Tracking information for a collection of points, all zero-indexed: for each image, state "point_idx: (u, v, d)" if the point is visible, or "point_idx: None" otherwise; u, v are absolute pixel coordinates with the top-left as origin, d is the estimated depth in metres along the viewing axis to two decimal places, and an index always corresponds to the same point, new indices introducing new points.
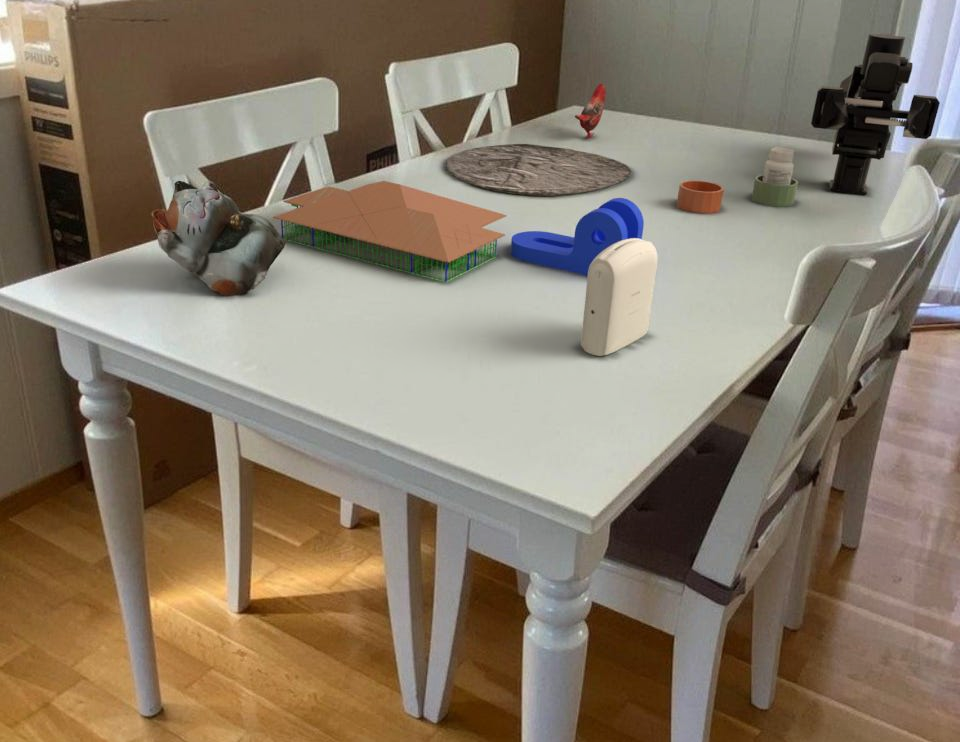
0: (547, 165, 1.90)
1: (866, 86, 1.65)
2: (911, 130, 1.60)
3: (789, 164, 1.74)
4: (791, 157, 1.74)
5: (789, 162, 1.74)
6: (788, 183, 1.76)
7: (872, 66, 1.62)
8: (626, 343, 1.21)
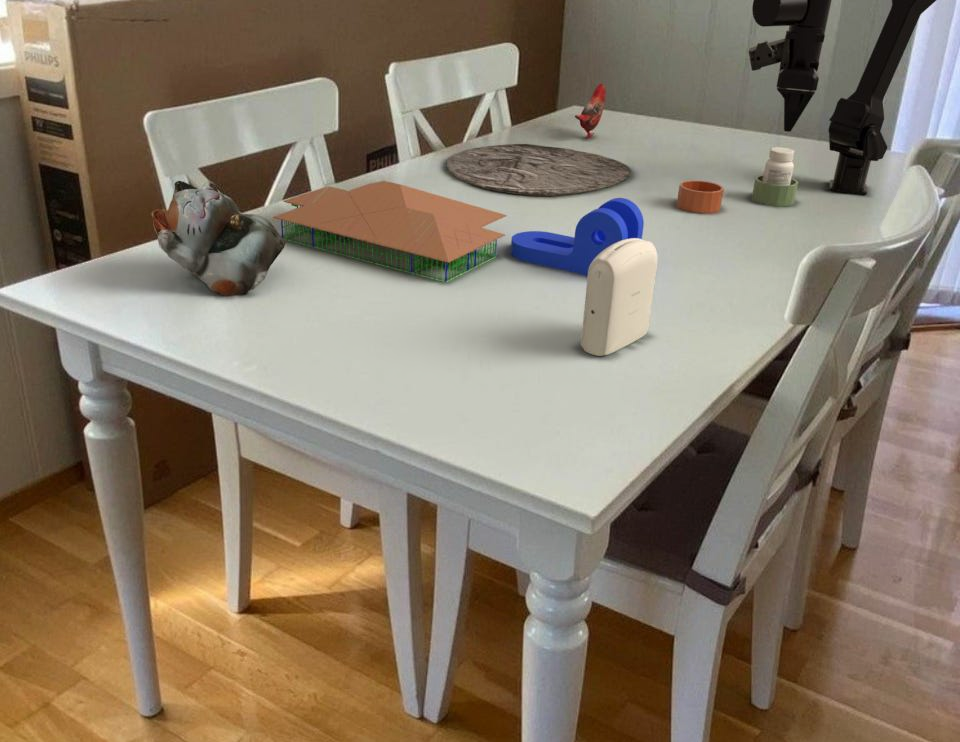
0: (547, 165, 1.90)
1: None
2: (798, 112, 1.66)
3: (789, 164, 1.74)
4: (791, 157, 1.74)
5: (789, 162, 1.74)
6: (788, 183, 1.76)
7: None
8: (626, 343, 1.21)
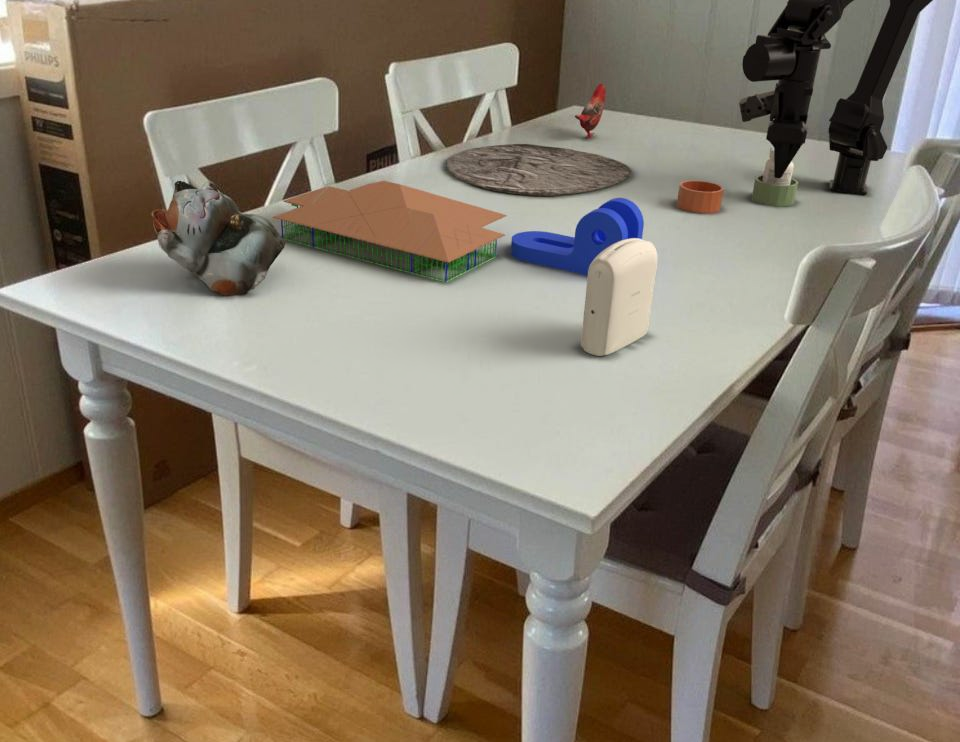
0: (547, 165, 1.90)
1: None
2: (788, 160, 1.72)
3: (789, 164, 1.74)
4: None
5: None
6: (788, 183, 1.76)
7: None
8: (626, 343, 1.21)
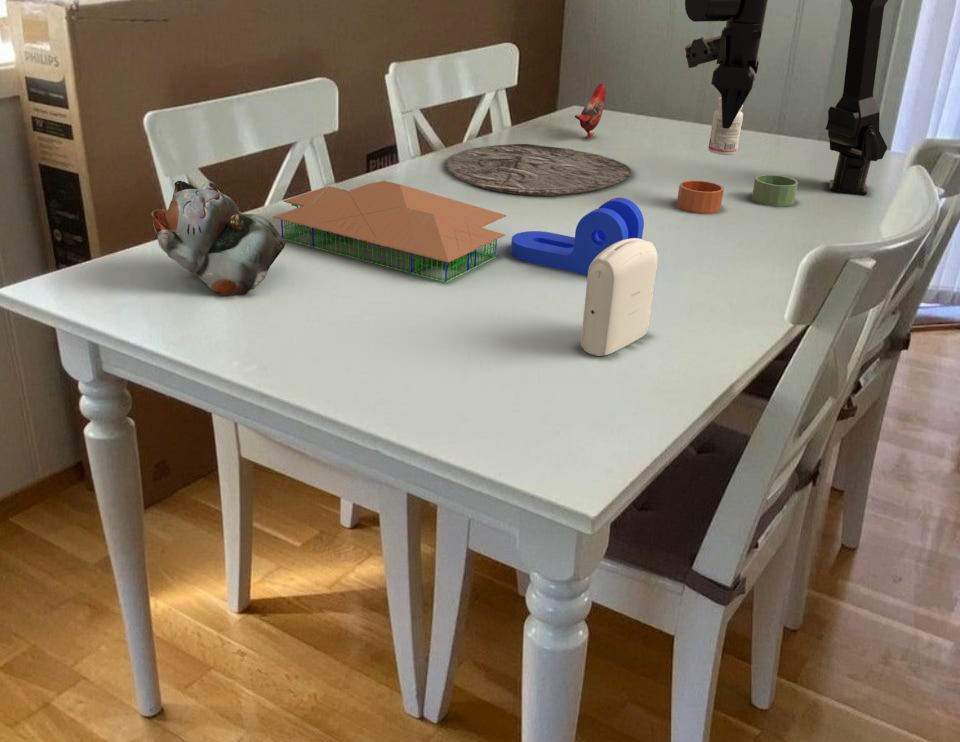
0: (547, 165, 1.90)
1: None
2: (736, 109, 1.62)
3: (738, 113, 1.65)
4: None
5: None
6: (737, 134, 1.67)
7: None
8: (626, 343, 1.21)
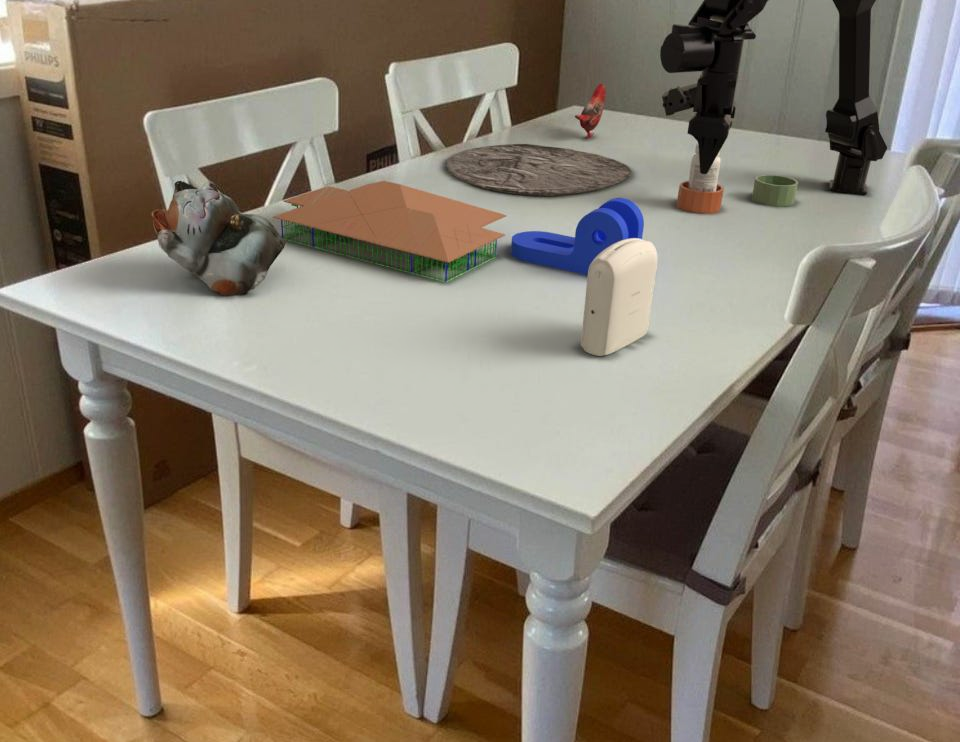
0: (547, 165, 1.90)
1: None
2: (713, 156, 1.65)
3: (715, 159, 1.68)
4: None
5: None
6: (715, 178, 1.69)
7: None
8: (627, 343, 1.21)
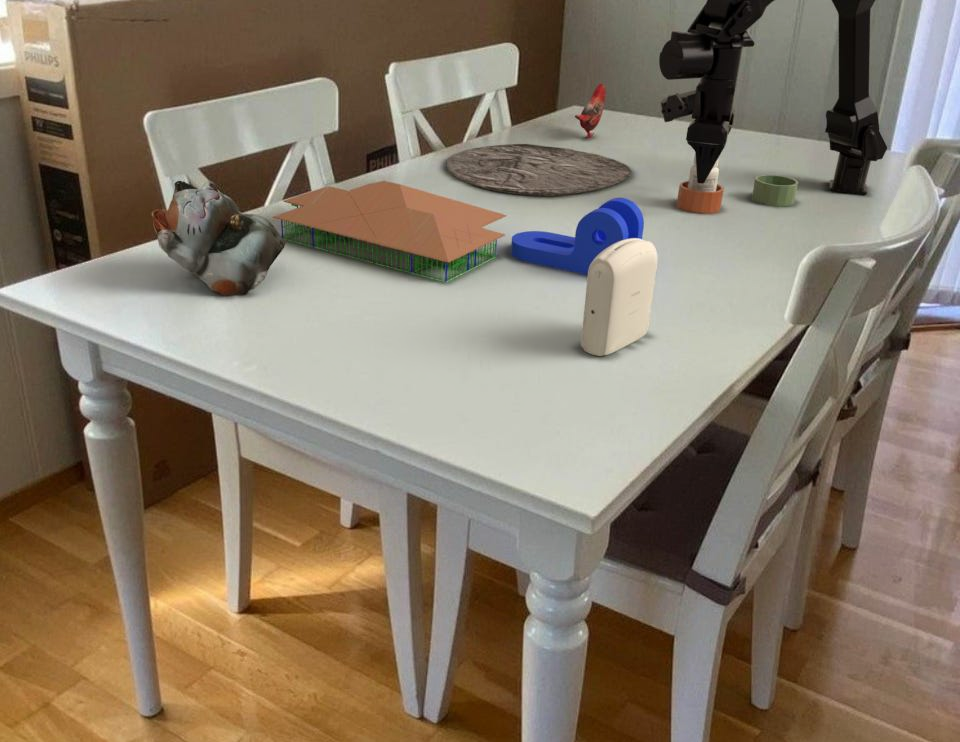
0: (547, 165, 1.90)
1: None
2: (710, 165, 1.64)
3: (714, 169, 1.69)
4: (716, 162, 1.68)
5: (714, 168, 1.69)
6: (713, 189, 1.70)
7: None
8: (627, 343, 1.21)
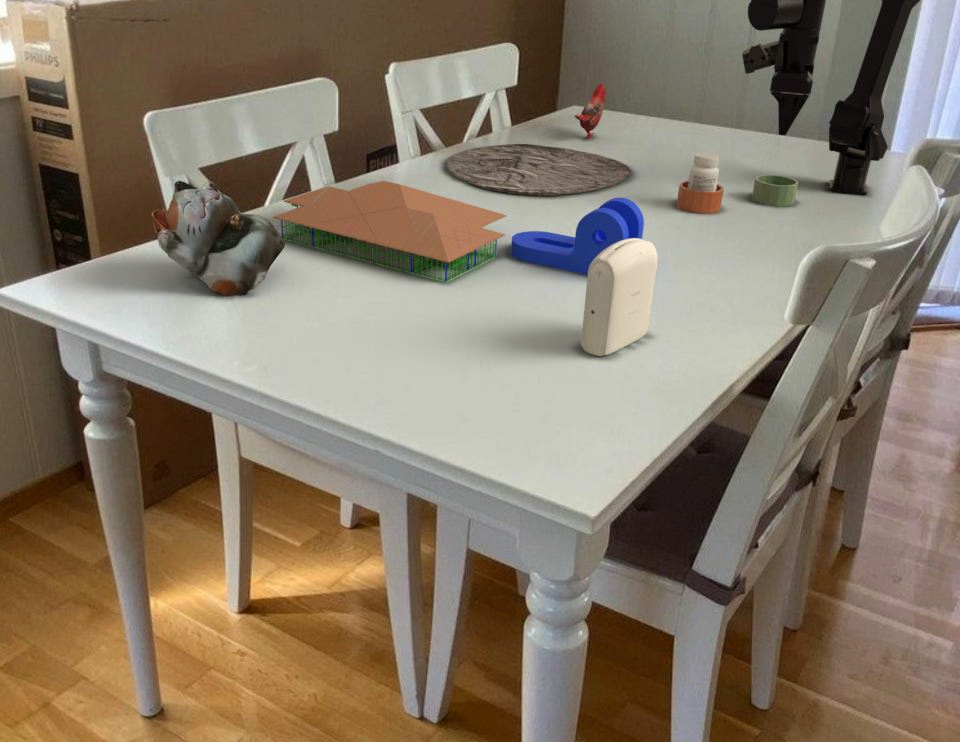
0: (547, 165, 1.90)
1: None
2: (793, 116, 1.63)
3: (714, 169, 1.69)
4: (716, 162, 1.68)
5: (714, 168, 1.69)
6: (713, 189, 1.70)
7: None
8: (627, 343, 1.21)
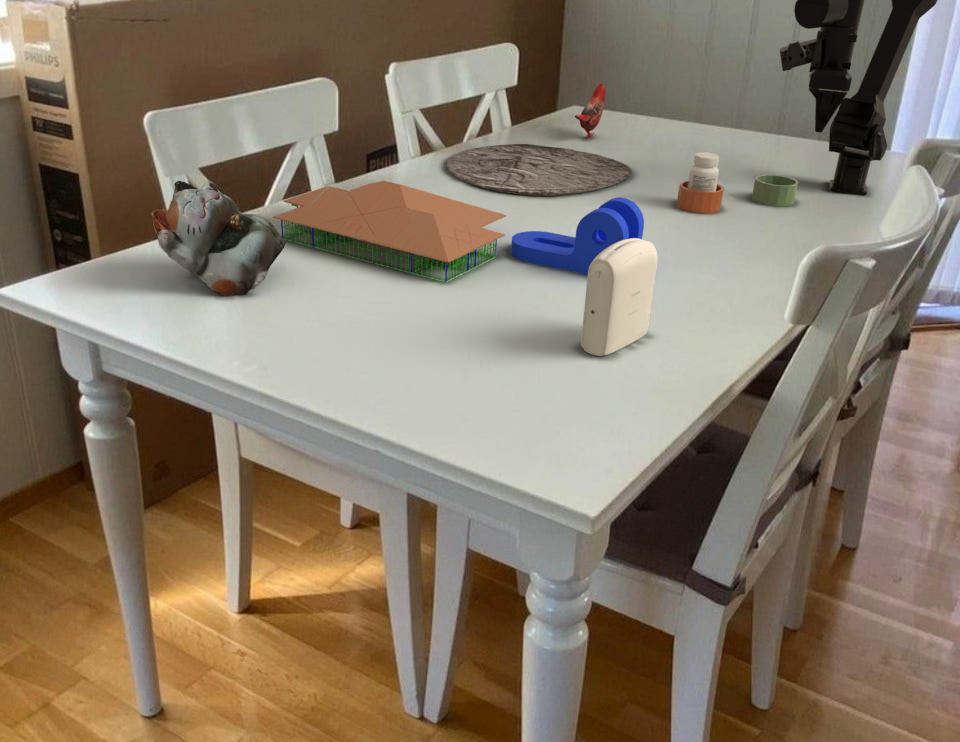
0: (547, 165, 1.90)
1: None
2: (830, 113, 1.64)
3: (714, 169, 1.69)
4: (716, 162, 1.68)
5: (714, 168, 1.69)
6: (713, 189, 1.70)
7: None
8: (627, 343, 1.21)
